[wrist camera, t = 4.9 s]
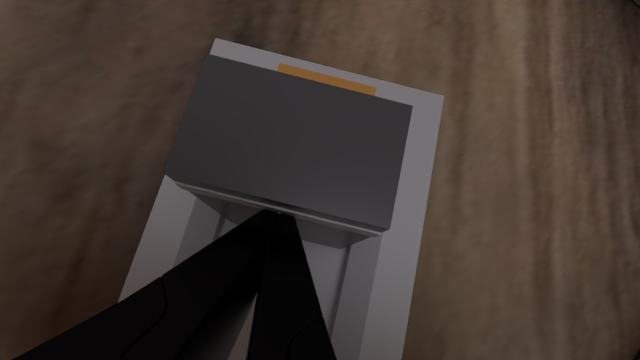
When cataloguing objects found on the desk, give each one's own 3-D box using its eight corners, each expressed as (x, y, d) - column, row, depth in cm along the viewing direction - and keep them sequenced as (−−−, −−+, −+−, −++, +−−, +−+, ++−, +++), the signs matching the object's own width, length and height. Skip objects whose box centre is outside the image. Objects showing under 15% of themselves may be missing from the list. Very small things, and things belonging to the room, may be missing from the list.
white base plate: (364, 568, 13) (372, 604, 12) (51, 493, 13) (23, 519, 12) (441, 99, 18) (452, 86, 17) (217, 43, 18) (211, 24, 17)
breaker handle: (340, 250, 15) (389, 231, 7) (230, 223, 15) (161, 174, 7) (355, 184, 16) (413, 103, 8) (250, 158, 16) (207, 51, 8)
